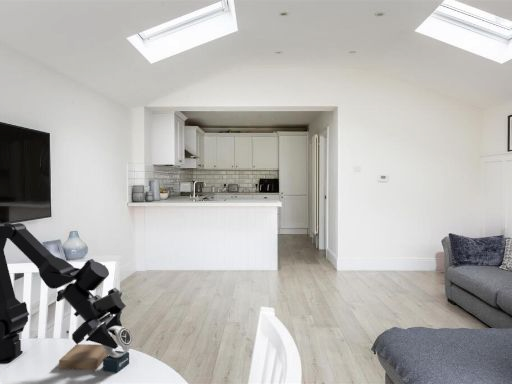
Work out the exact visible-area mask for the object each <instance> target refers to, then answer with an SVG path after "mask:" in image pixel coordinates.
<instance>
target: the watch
mask: <svg viewBox="0 0 512 384" xmlns="http://www.w3.org/2000/svg"><path fill="white" fill-rule="evenodd" d="M110 330H115V331H114V332H115V334H116V336H115V339H116V340H115V341H116V343H117V345H118V346H120V347H121V349H122V350H123V351H121V350H114V349H113V348H110V347H108V346H105V345H103V347H104V350H105V351H106V353H107V354H109V355H108V356H107V357H106V358H104V359H103V362H102V371H103V372H110V373H114V374H115V373H116V374H118V373H119V372H121V371H122V370H123V369H124V368H125V367H127V366H128V365H129V364H130V352H129V350H130V349H131V346H132V341H133V336H132V335H133V334H131V331H130V330H129V328H127V327H124V326H122V327H121V326H113V327H111V328H109V329H107V331H108V333H110V332H109V331H110Z"/></svg>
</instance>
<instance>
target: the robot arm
mask: <svg viewBox="0 0 512 384" xmlns="http://www.w3.org/2000/svg"><path fill="white" fill-rule="evenodd" d="M8 240H9V241H11V242H12V243H13V244H14V245H15V246H16V248H17V249H18V250H20V252H22V253H23V255H25V256H26V257H27V258H28V259H29V261H31V262H32V263H33V265H34V266H36V268H37V270H38V273H39V277H40V278H41V279H42V281H43V282H44V284H45V285H46V287H48V288H50V289H59V288H61V287H64V286H65V285H66V286H65V288H63V289H60V290H58V291H57V292H56V293H57V294H56V295H57V296H56V302H61V301H62V300H65V301H66V302H67V303H68V304H69V305H70V306H71V307H72V308H73V309H74V310H75V312H74V313H73V315H74V316H75V317H76V318H77V317H79V316H80V317H81V318H82V320H83V321H84V322H82V323H81V324H80V326H78V328H76V329H75V331H74V332H73V333H72V334H71V340H72V341H73V342H74V343H75V345H76V344H80V343H81V342H83V341H84V340H85V341H86V342H92V343H97V344H98V345H105V346H108V347H110V348H113V349H112V350H116V349H117V348H118V347H119V344H118V343H117V341H116V340H115V339H114V337H116V334H115V332H114V331H115V330H110V331H109V332H108V331H107V329H109V328H111V327H113V326H121V327H123V325H122V322H121V314H122V311H123V310H124V309H125V308H126V307H127V305H126V304H125V303H124V302H123V301H122V300H123V299H122V296H123V293H122V292H121V291H120V290H119V289H117V288H116V287H114V288H110V289H109V290H108V291H107V295H105V296H103V297H101V296H100V295H98V294H96V295H93V293H92V292H91V291H95V290H96V289H97V288H98V287H99V286H100V285H101V284H102V283H103V282H104V281H105V280H106V279H107V278H108V277H109V274H110V272H109V268H107V266H106V265H105V264H102V263H101V262H98V261H95V260H94V259H93V258H91V259H88V260H87V261H86V262H85V263H84V264H83V266H82V267H81V268H79V267H78V268H77V267H74V266H73V265H72V264H71V263H70V262H68V261H67V260H65V259H63V258H60V257H57V256H55V255H54V254H53V253H52V252H51V251H49V250H48V249H47V248H46V246H45V245H43V244H42V243H41V241H40V240H39V239H37V238H36V237H35V236H34V235H33V234H32V233H31V232H30V231H29V230H28V229H27V226H26V225H25V224H24V223H21V222H17V223H2V222H1V221H0V363H6V364H7V363H11V362H12V361H14V360H15V359H16V358H18V357H19V356H20V355H22V354H23V352H24V351H23V350H22V343H21V339H20V333H22V332H24V329H25V326H26V325H27V323H28V322H29V316H30V313H29V311H28V307H27V303H26V301H22V302H20V300H18V299H17V297H16V294H15V291H14V286H13V282H12V279H11V274H10V271H9V267H8V263H7V259H6V255H5V246H6V244H7V242H8ZM73 281H74V282H73ZM110 333H111V334H112V335H113V336H114V337H112V335H111V334H110ZM86 336H88V337H86ZM85 337H86V339H85Z"/></svg>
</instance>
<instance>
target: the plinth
mask: <svg viewBox="0 0 512 384" xmlns="http://www.w3.org/2000/svg"><path fill="white" fill-rule="evenodd" d="M107 356H109V354H107V353H106V351H105V350H104V347H103V345H102V344H86V343H85V344H80V343H78V344H76V343H75V345H74V346H73V347H72V348H70V350H69V351H67V352H66V353H65V354H64V356H62V357H61V358H60V359H59V360H58V364H59V365H58V367H59V368H58V369H59V370H88V371H89V370H93V371H94V370H98V368H99V367H100V366H101V365H102V364H103V359H104V358H106V357H107Z"/></svg>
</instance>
